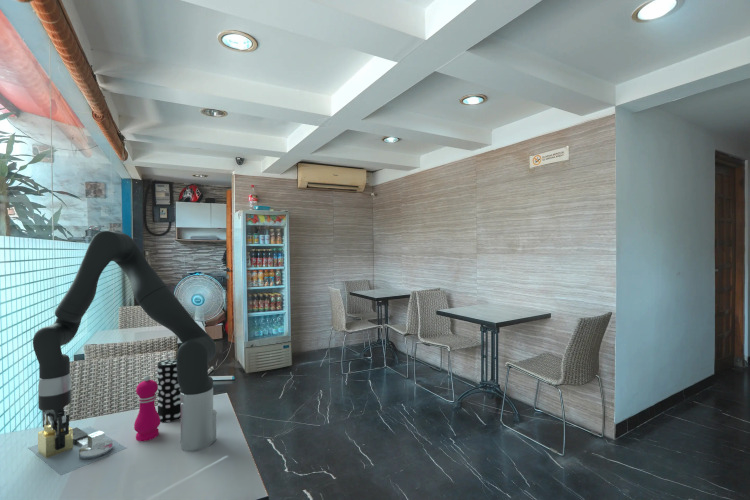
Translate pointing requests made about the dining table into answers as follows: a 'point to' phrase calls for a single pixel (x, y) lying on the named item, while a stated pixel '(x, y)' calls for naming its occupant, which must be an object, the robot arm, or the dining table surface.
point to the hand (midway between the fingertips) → (55, 445)
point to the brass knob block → (52, 442)
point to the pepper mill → (147, 411)
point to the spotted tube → (168, 391)
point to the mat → (73, 456)
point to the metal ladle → (91, 444)
